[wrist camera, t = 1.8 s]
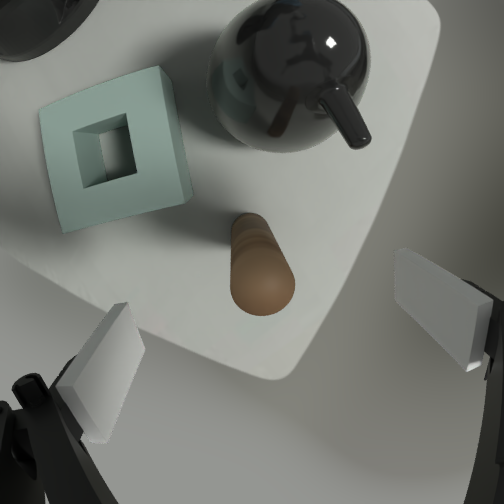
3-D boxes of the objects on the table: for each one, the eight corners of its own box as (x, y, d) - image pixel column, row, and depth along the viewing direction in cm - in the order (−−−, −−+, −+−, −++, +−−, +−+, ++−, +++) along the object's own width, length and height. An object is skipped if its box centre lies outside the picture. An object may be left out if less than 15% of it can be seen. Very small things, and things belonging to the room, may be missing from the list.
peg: (227, 217, 27) (224, 262, 15) (265, 209, 27) (290, 250, 15) (235, 253, 28) (237, 321, 16) (272, 246, 28) (298, 309, 16)
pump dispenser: (241, 175, 26) (250, 197, 11) (192, 65, 23) (148, -27, 8) (351, 132, 25) (465, 117, 11) (303, 26, 22) (366, -73, 8)
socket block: (67, 115, 23) (38, 109, 18) (171, 80, 23) (158, 65, 18) (88, 220, 26) (62, 234, 21) (193, 195, 26) (185, 203, 21)
